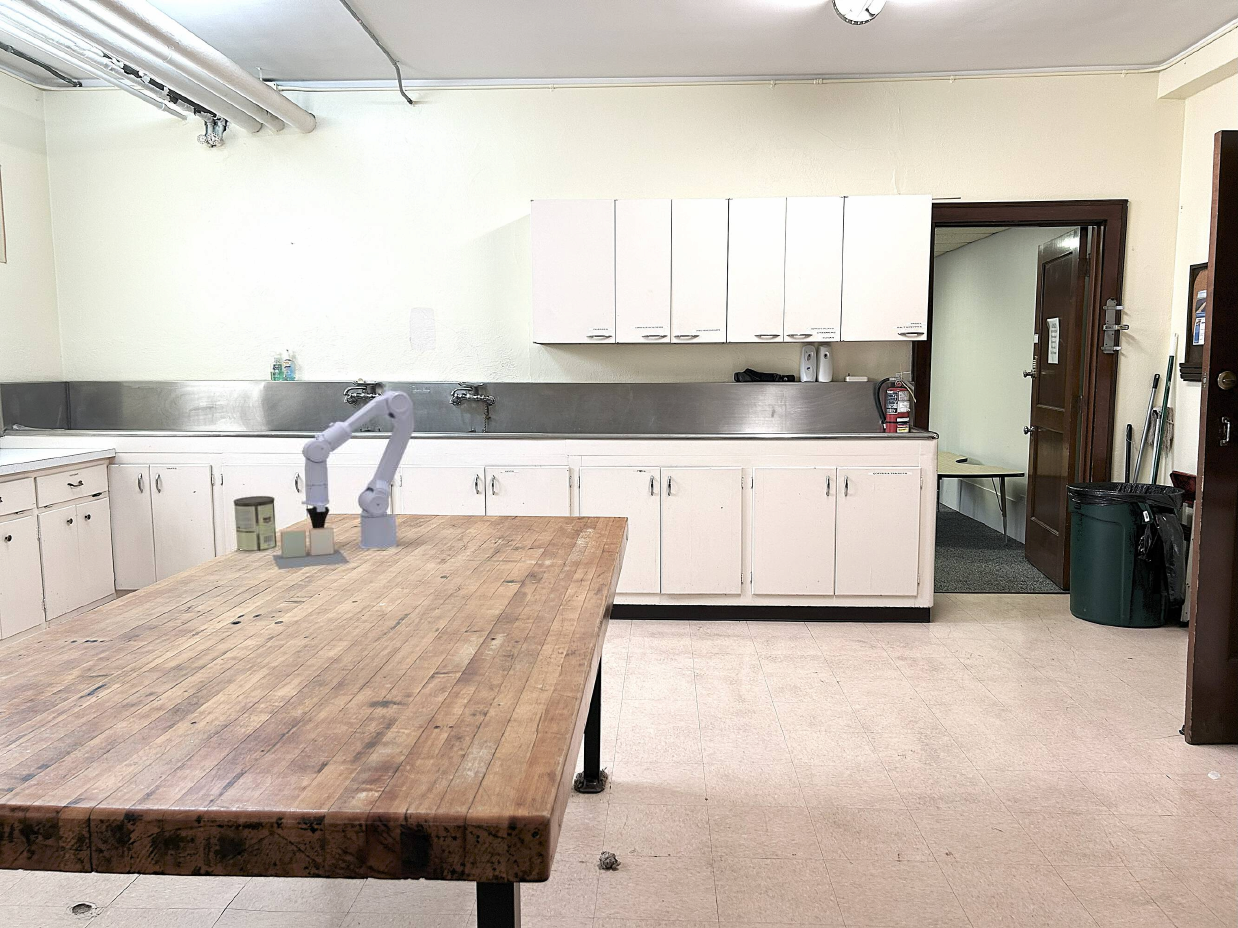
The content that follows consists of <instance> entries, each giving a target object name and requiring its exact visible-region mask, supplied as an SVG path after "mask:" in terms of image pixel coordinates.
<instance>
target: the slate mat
mask: <svg viewBox="0 0 1238 928" xmlns="http://www.w3.org/2000/svg"><path fill="white" fill-rule="evenodd" d="M306 555H307V556H306V557H294V558H283V559H282V557H281V554H280V553H279V554H272V555H271V556H272V558H273V561H274V563H275V564H276V567H277V569H278V570H287V569H297V568H307V567H308V568H309V567H320V566H329V565H330V566H332V565H339V564H340V565H341V564H342V565H343V564H350V563H351V562H350V561H349V559H347V557H346V556H345V555H344V553H342V551H341V550H340V549H334V554H329V555H317V556H310V553H309V551H306Z"/></svg>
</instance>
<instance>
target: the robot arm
mask: <svg viewBox="0 0 1238 928" xmlns="http://www.w3.org/2000/svg"><path fill="white" fill-rule="evenodd" d="M413 409H414V404H413V402H412V400H411V398H410V396H409V395H408V393H405V392H404V391H399V390H398V391H395V390H386V391H384V392H383V393H382V394H381V395H377V396H376V397H375V398H373V399H371V401H369V402H368V403H367V404H365V405H364V406H363V407H361V408H360V409H359V410H357V411H356V412H355V413H354V414H353V415H351V417H349V418H348V419H346V420H345V421H343V422H342V421H336V422H330V423H329V425H328V428H327V429H326V430H324V431H322V432H321V433H319V434H315V435H314V438H315V439H310V440H308V441H307V442H305V443H304V446H303V447H302V450H301V453H302V456H303V457H304V458H305V459H304V461H305V462H304V463H305V468H304V476H305V477H304V478H305V500H302V501H301V504H302V505H306V506H311V507H310V508H308V507H307V508H305V511H306V512H307V514H308V517H309V519H310V521H311V525H312V528H324V527H325V525H326V520H327V517H328V515H329V513H330V508H329V506H327V505H329V504H330V500H329V499H330V498H329V480H328V479H329V477H328V475H329V474H328V473H329V472H328V463H327V461H328V459H329V457H330V453H333V452H334V451H336V450H337V449H338V448H340V447H341V446H342V445H344V444H345V443H346V442H348V441H349V440H350V439H351V438H352V434H353V432H354V431H355V430H357V429H358V428H360V427H361V426H362V425H363V424H366V423H367V422H368V421H370V420H372V418H374V417H376V416H381V415H386V416H388V417H389V419H390V421H391V423H392V425H393V427H394V428H393V430H392V432H391V435H390V437H389V440H388V441H387V444H386V446H385V448H384V450H383V451H384V452H383V453H382V455H381V458H380V460H379V462H378V466H377V467H376V471H375V473H374V475H373V477H372V479H371V480H370V481H369V482H368V483H367V485H366V488H365V489H363V491H362V492H361V493H360V494H359V496H358V499H357V503H358V506H359V508H360V509H361V511H360V513H359V514H360V542H358V543H357V545H358V546H359V547H360V548H361V549H362V550H368V549H369V550H370V549H381V548H392V547H398V544H397V541H398V540H397V539H398V538H397V520H396V515H395V514H392V513H390V514H389V513H388V512H387V511H388V509H389V506H390V496H391V493H392V490H391V489H392V487H391V485H392V483H393V481H394V478H395V475H396V473H397V470H398V468H399V466H400V463H401V461H402V459H403V456H404V454H405V452H406V449H407V446H408V444H409V442H410V440H411V437H412V434H413V432H414V430H415V428H416V427H415V418H414V417H415V416H414V411H413Z"/></svg>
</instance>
